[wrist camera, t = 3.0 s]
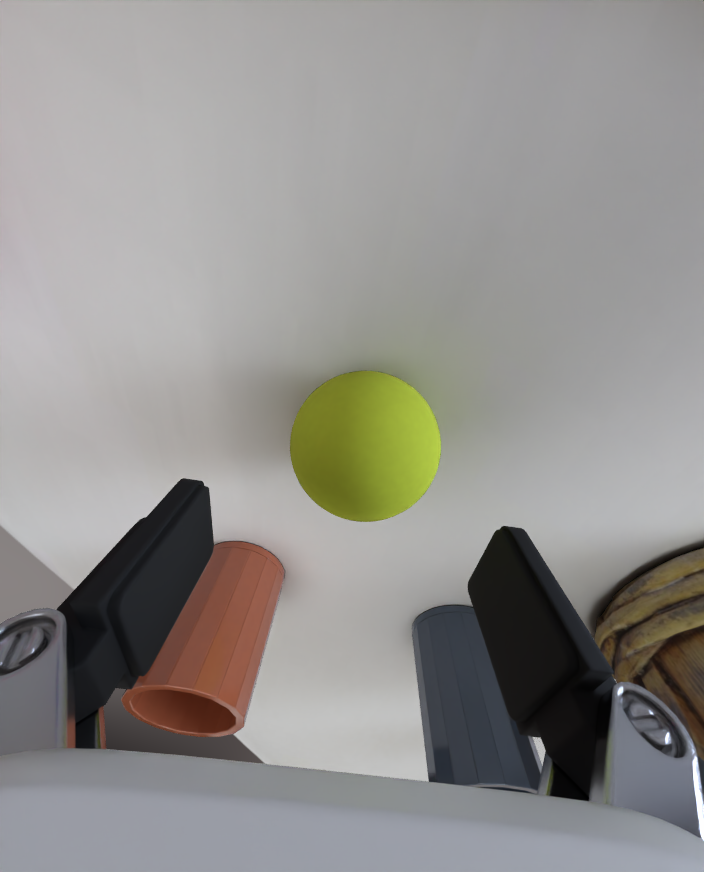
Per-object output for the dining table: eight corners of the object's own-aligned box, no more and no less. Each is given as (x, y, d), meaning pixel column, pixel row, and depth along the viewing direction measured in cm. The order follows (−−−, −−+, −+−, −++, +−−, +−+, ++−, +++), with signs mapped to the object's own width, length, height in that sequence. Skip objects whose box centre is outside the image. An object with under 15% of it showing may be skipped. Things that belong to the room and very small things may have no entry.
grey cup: (493, 602, 25) (561, 786, 16) (491, 647, 28) (546, 819, 19) (407, 607, 26) (427, 783, 17) (415, 650, 29) (434, 815, 20)
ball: (421, 342, 15) (456, 392, 9) (430, 456, 18) (460, 548, 12) (290, 366, 16) (243, 425, 10) (321, 470, 19) (299, 562, 13)
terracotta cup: (269, 537, 22) (214, 684, 14) (294, 591, 25) (260, 737, 17) (189, 545, 23) (95, 687, 15) (222, 596, 26) (159, 737, 18)
